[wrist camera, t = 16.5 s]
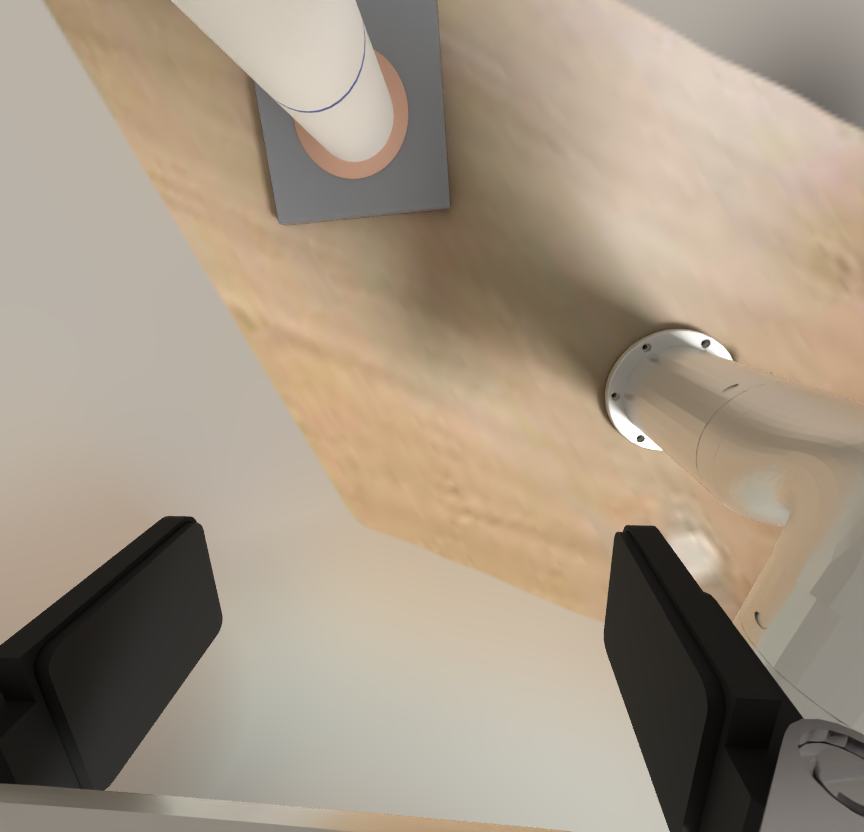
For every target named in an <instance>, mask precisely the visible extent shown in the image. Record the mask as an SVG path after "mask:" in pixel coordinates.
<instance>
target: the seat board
mask: <svg viewBox="0 0 864 832" xmlns="http://www.w3.org/2000/svg"><path fill="white" fill-rule="evenodd" d="M356 3H357V6H358V9H359V11H360V14H361V17H362V20H363V22H364V25H365V28H366V31H367V33H368V36H369V39H370V42H371V44H372V47H373V50H374V53H375V55H376V58H377V61H378V64H379V66H380V69H381V72H382V75H383V77H384V80H385V83H386V86H387V88H388V91H389V94H390V97H391V100H392V104H393V112H394V119H393V126H392V131H391V134H390V136H389V139H388V141H387V142H386V144H385V145H384V147H383V148H382V149H381V150H380V151H379V152H378V153H377V154H376V155H374V156H373V157H371V158H369V159H367V160H364V161H359V162H349V161H344V160H341V159H339V158H337V157H335V156H333V155H332V154H331V153H330V152H328V151H327V150H326V149H325V148H324V147H323V146H322V145H321V144H320V143H319V142H318V141H317V140H316V139H315V138H313V137H312V136H311V135H310V134H309V133H308V132H307V131H306V130H305V129H304V128H303V127H302V126H301V125H300V124H299V123H298V122H297V121H296V120H295V119H294V118H293V117H292V116H291V115H290V114H288V113H287V112H286V111H285V110H284V109H283V108H282V107H281V106H280V105H279V104H278V103H277V102H276V101H275V100H274V99H273V98H272V97H271V96H270V95H269V94H268V93H267V92H266V91H265V90H264V89H262V88H261V87H260V86H259V85H258V84H257V83H256V82H255V81H254V86H255V91H256V97H257V103H258V108H259V114H260V120H261V125H262V131H263V137H264V142H265V148H266V153H267V159H268V165H269V170H270V176H271V182H272V187H273V193H274V199H275V204H276V210H277V216H278V221H279V224H282V225H295V224H305V223H315V222H325V221H335V220H345V219H355V218H364V217H374V216H384V215H394V214H404V213H414V212H424V211H434V210H444V209H450V196H449V180H448V165H447V149H446V134H445V118H444V103H443V87H442V72H441V56H440V41H439V25H438V10H437V0H356Z"/></svg>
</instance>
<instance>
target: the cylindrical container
mask: <svg viewBox="0 0 864 832" xmlns="http://www.w3.org/2000/svg"><path fill="white" fill-rule="evenodd" d="M171 1H172V2H173V3H174V4H175V5H176V6H177V7H178V8H179V9H180V10H181V11H182V12H183V13H184V14H185V15H186V16H187V17H188V18H189V19H190V20H191V21H192V22H193V23H195V24H196V25H197V26H198V27H199V28H200V29H201V30H202V31H203V32H204V33H205V34H206V35H207V36H208V37H209V38H210V39H211V40H212V41H213V42H214V43H215V44H216V45H217V46H218V47H220V48H221V49H222V50H223V51H224V52H225V53H226V54H227V55H228V56H229V57H230V58H231V59H232V60H233V61H234V62H235V63H236V64H237V65H238V66H239V67H240V68H242V69H243V70H244V71H245V72H246V73H247V74H248V75H249V76H250V77H251V78H252V79H253V80H254V81H255V82H256V83H257V84H258V85H259V86H260V87H261V88H262V89H264V90H265V91H266V92H267V93H268V94H269V95H270V96H271V97H272V98H273V99H274V100H275V101H276V102H277V103H278V104H279V105H280V106H281V107H282V108H283V109H284V110H285V111H286V112H287V113H288V114H290V115H291V116H292V117H293V118H294V119H295V120H296V121H297V122H298V123H299V124H300V125H301V126H302V127H303V128H304V129H305V130H306V131H307V132H308V133H309V134H310V135H311V136H312V137H313V138H315V139H316V140H317V141H318V142H319V143H320V144H321V145H322V146H323V147H324V148H325V149H326V150H327V151H328V152H330V153H331V154H332V155H333V156H335V157H337V158H339V159H341V160H344V161H349V162H359V161H364V160H367V159H369V158H371V157H373V156H374V155H376V154H377V153H378V152H379V151H380V150H381V149H382V148H383V147H384V145H385V144H386V142H387V141H388V139H389V136H390V134H391V131H392V126H393V119H394V112H393V104H392V100H391V97H390V94H389V91H388V88H387V86H386V83H385V80H384V77H383V75H382V72H381V69H380V66H379V64H378V61H377V58H376V55H375V53H374V50H373V47H372V44H371V42H370V39H369V36H368V33H367V31H366V28H365V25H364V22H363V20H362V17H361V14H360V11H359V9H358V6H357V3H356V0H171Z"/></svg>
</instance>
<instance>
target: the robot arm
mask: <svg viewBox="0 0 864 832" xmlns="http://www.w3.org/2000/svg"><path fill="white" fill-rule="evenodd" d="M702 341H703V344H702V345H701V343H702ZM644 344H645V345H646V347H645V348H644V349H642V347H643V345H644ZM613 393H615V395H614V396H611V395H612V394H613ZM605 405H606V410H607V413H608V416H609V419H610V420H611V422H612V424H613V425H614V427H615V428H616V429H617V430H618V431H619V432H620V434H622V435H623V436H624V437H625V438H626V439H627V440H629V441H630V442H632V443H634V444H635V445H638V446H640V447H644V448H647V449H651V450H660V451H664V452H665V453H666V454H667V455H669V456H670V457H671V458H672V459H673V460H674V461H675V462H676V463H678V464H679V465H680V466H681V467H682V468H683V469H684V470H685V471H687V472H688V473H689V474H690V475H691V476H692V477H693V478H694V479H696V480H697V481H698V482H699V483H700V484H701V485H702V486H703V487H705V488H706V489H707V490H708V491H709V492H710V493H711V494H712V495H713V496H715V497H716V498H717V499H718V500H719V501H720V502H721V503H723V504H724V505H725V506H727V507H728V508H729V509H731V510H732V511H734V512H736V513H738V514H740V515H742V516H744V517H746V518H748V519H751V520H754V521H758V522H761V523H765V524H770V525H777V526H785V527H784V529H783V531H782V533H781V535H780V536H779V538H778V540H777V542H776V543H775V545H774V548H773V552H772V554H771V556H770V558H769V559H768V561H767V563H766V565H765V566H764V568H763V570H762V572H761V573H760V575H759V577H758V579H757V580H756V582H755V584H754V586H753V587H752V589H751V591H750V593H749V594H748V596H747V598H746V599H745V601H744V603H743V605H742V607H741V608H740V610H739V612H738V614H737V615H736V617H735V619H734V621H733V623H732V621H731V620H730V619H729V617H728V616H727V614H726V613H725V612H724V610H723V609H722V608H721V606H720V605H719V604H718V602H717V601H716V600H715V599H714V598H713V597H712V596H711V595H710V594H708V593H706V592H703V591H702V589H701V588H700V587H699V585H698V584H697V582H696V581H695V580H694V578H693V577H692V575H691V574H690V573H689V571H688V570H687V569H686V567H685V566H684V564H683V563H682V562H681V560H680V559H679V557H678V556H677V555H676V553H675V552H674V551H673V549H672V548H671V546H670V545H669V544H668V542H667V541H666V540H665V538H664V537H663V535H662V534H661V533H660V531H659V530H658V529H657V528H656V527H655V526H637V525H626V526H625V527H624V530H623V532H617V533H616V534H615V537H614V545H613V554H612V563H611V572H610V581H609V590H608V599H607V608H606V617H605V626H604V643H605V648H606V652H607V655H608V658H609V661H610V663H611V666H612V669H613V672H614V675H615V678H616V680H617V683H618V686H619V689H620V692H621V694H622V697H623V700H624V703H625V706H626V709H627V712H628V714H629V717H630V720H631V723H632V726H633V729H634V732H635V734H636V737H637V740H638V743H639V746H640V748H641V751H642V754H643V757H644V760H645V763H646V766H647V768H648V771H649V774H650V777H651V780H652V783H653V785H654V788H655V791H656V794H657V797H658V799H659V803H660V805H661V808H662V811H663V814H664V817H665V819H666V822H667V825H668V828H669V830H670V832H864V402H861V401H857V400H854V399H850V398H847V397H843V396H840V395H836V394H833V393H830V392H826V391H823V390H820V389H817V388H814V387H811V386H808V385H805V384H801V383H798V382H795V381H792V380H789V379H786V378H783V377H780V376H777V375H774V374H772V373H768V372H765V371H762V370H759V369H756V368H753V367H750V366H747V365H744V364H741V363H738V362H735V361H733V359H732V357H731V355H730V353H729V352H728V351H727V349H726V348H725V347H724V346H723V345H722V344H721V343H720V342H718V341H717V340H716V339H714V338H713V337H711V336H708V335H706V334H704V333H702V332H698V331H694V330H688V329H667V330H663V331H659V332H655V333H653V334H650V335H648V336H646V337H644V338H642V339H640V340H639V341H637V342H636V343H634V344H633V345H631V346H630V347H629V348H628V349H627V350H626V351H625V352H624V353H623V354H622V355H621V356H620V358H619V359H618V360H617V362H616V363H615V364H614V366H613V368H612V370H611V372H610V374H609V377H608V380H607V384H606V389H605ZM638 435H639V437H638V438H637V436H638ZM221 625H222V612H221V607H220V603H219V598H218V594H217V589H216V585H215V581H214V576H213V571H212V567H211V562H210V558H209V553H208V549H207V544H206V540H205V535H204V530H203V528H202V526H201V525H200V524H199V523H197V522H196V520H195V519H194V518H193V517H186V516H167V517H164V518H162V519H161V520H159V521H158V522H157V523H156V524H154V525H153V526H152V527H150V528H149V529H148V530H147V531H145V532H144V533H143V534H142V535H140V536H139V537H138V538H136V539H135V540H134V541H133V542H131V543H130V544H129V545H127V546H126V547H125V548H124V549H122V550H121V551H120V552H119V553H117V554H116V555H115V556H113V557H112V558H111V559H110V560H108V561H107V562H106V563H105V564H103V565H102V566H101V567H99V568H98V569H97V570H96V571H94V572H93V573H92V574H91V575H89V576H88V577H87V578H86V579H84V580H83V581H82V582H80V583H79V584H78V585H77V586H76V587H74V588H73V589H72V590H70V591H69V592H68V593H66V594H65V595H64V596H63V597H62V598H60V599H59V600H58V601H56V602H55V603H54V604H52V605H51V606H50V607H49V608H47V609H46V610H45V611H43V612H42V613H41V614H40V615H39V616H37V617H36V618H35V619H33V620H32V621H31V622H29V623H28V624H27V625H26V626H24V627H23V628H22V629H21V630H19V631H18V632H17V633H15V634H14V635H13V636H12V637H10V638H9V639H8V640H7V641H5V642H4V643H3V644H1V645H0V832H570V831H561V830H552V829H543V828H532V827H521V826H510V825H498V824H488V823H476V822H466V821H455V820H444V819H433V818H422V817H411V816H400V815H389V814H378V813H366V812H355V811H343V810H332V809H320V808H309V807H297V806H285V805H274V804H261V803H250V802H238V801H226V800H213V799H202V798H190V797H178V796H164V795H151V794H138V793H126V792H113V791H104V790H105V789H106V788H108V787H109V786H110V784H111V783H112V782H113V781H114V779H115V778H116V776H117V775H118V774H119V773H120V771H121V770H122V768H123V767H124V765H125V764H126V763H127V761H128V760H129V758H130V757H131V755H132V754H133V753H134V751H135V750H136V749H137V747H138V746H139V744H140V743H141V742H142V740H143V739H144V737H145V735H146V734H147V733H148V732H149V730H150V729H151V727H152V726H153V725H154V723H155V722H156V720H157V719H158V718H159V716H160V715H161V713H162V712H163V710H164V709H165V707H166V706H167V705H168V703H169V702H170V701H171V699H172V698H173V696H174V695H175V694H176V692H177V691H178V689H179V688H180V687H181V685H182V683H183V682H184V681H185V679H186V678H187V677H188V675H189V674H190V672H191V671H192V670H193V668H194V667H195V665H196V664H197V663H198V661H199V660H200V658H201V657H202V655H203V654H204V653H205V651H206V650H207V648H208V647H209V646H210V644H211V643H212V641H213V640H214V639H215V637H216V636H217V634H218V633H219V631H220V628H221Z"/></svg>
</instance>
